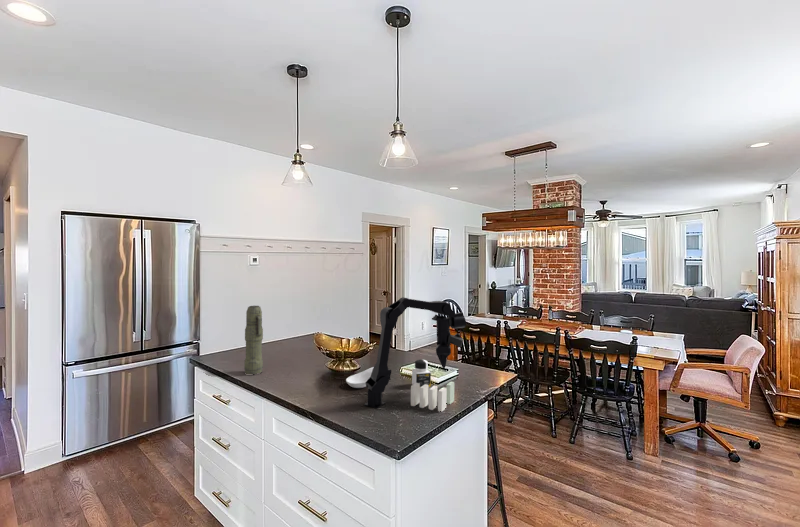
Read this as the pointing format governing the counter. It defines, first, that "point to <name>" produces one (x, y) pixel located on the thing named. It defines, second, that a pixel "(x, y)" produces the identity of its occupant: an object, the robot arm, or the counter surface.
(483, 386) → the counter surface
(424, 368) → the medicine bottle
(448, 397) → the pale green domino
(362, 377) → the spoon rest
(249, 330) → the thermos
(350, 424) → the counter surface
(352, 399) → the counter surface
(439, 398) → the domino
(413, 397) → the domino
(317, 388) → the counter surface
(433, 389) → the domino
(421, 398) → the domino
